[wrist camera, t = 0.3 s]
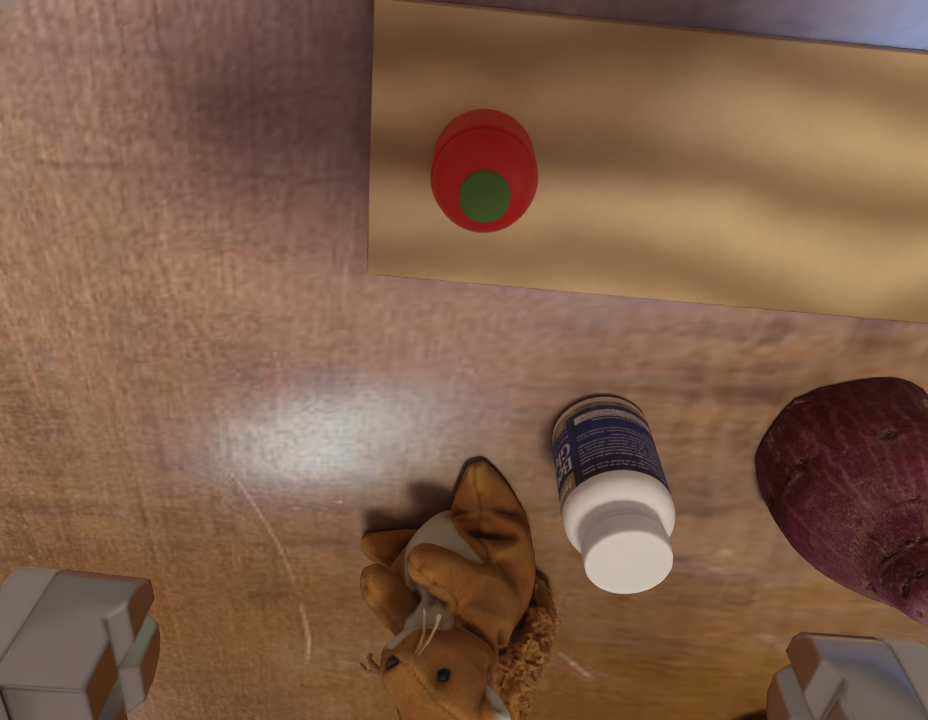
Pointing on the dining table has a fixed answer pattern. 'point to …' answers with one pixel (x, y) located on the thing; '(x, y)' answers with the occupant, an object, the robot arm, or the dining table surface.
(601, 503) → the pill bottle
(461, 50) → the board
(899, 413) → the vegetable
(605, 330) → the dining table surface
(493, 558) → the stuffed squirrel
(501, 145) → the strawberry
